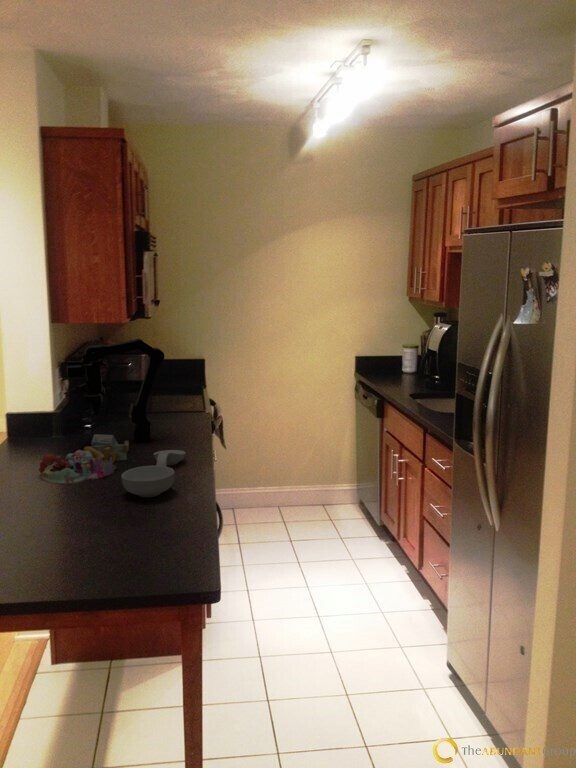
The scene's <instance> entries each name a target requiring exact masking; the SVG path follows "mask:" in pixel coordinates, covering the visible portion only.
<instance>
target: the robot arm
mask: <svg viewBox="0 0 576 768" xmlns="http://www.w3.org/2000/svg"><path fill="white" fill-rule="evenodd" d="M136 350H139V351H141V352H142V353H144V355H146V356H147V358H146V360H147V361H146V362H147V363H146V371H145V373H144V376H143V379H142V383H141V386H140V390H139V392H138V396H137V398H136V401H135V402H134V403H133V402H131V403H130V407H129V409H128V416H129V418H130V420H131V422H132V423H133V424H135V425H134V428H133V440H134V442H135V443H146V442H147V443H151V442H152V433H151V432H152V431H151V424H152V422H151V421H150V419H149V418H148V417H147V404H148V400H149V397H150V394H151V391H152V387H153V384H154V381H155V378H156V374H157V372H158V370H159V369H160V367H161V366H162V364H163V362H164V360H165V353H164V351H163V350H161V349H160V348H159V347H152V346H151V345H149V343H148V344H147V343H146V342H145V341H144V340H143V339H140V338H135V339H133V340H128V341H127V340H126V341H121V342H118V343H113V344H91V345H88V346H87V347H86V348H85V350H84V355H83V356H82V358H81V359H80V360H79V361H77V360H76V361H71V360H69V361H66V375H67V377H66V378H67V379H83V377H84V376H86V380H85V382H84V383H82V384H77V385H75V386H74V387H73V388H72V391H73V394H74V396H75V397H79V395H83V394H85V393H86V395H85V396H84V401H85V402H84V403H90V404H91V407H92V410H93V412H94V415H95V416H98V415H99V412H100V409H101V406H102V403H103V400H104V397H105V396H104V394H105V393H106V388H105V387H104V386H103V376H102V366H103V367H105V366H106V365H107V364H106V362H104V361H103V359H104V358H106V357H108V356H111V355H117V354H121V353H126V352H131V351H136ZM102 394H103V395H102Z"/></svg>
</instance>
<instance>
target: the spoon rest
mask: <svg viewBox="0 0 576 768" xmlns="http://www.w3.org/2000/svg"><path fill="white" fill-rule="evenodd" d="M186 454H187V453H186V451H184V450H181V449H179V450H178V449H169V450H168V449H167V450H159V451H157V452H156V451H155V452H154V453H153V456H154V458H155V460H156V464H155V466H165V467H168V466H174V465H177V464H178V463H179V462H181V461H183V460H184V458H185V456H186Z"/></svg>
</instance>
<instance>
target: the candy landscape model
mask: <svg viewBox="0 0 576 768" xmlns="http://www.w3.org/2000/svg"><path fill="white" fill-rule="evenodd" d="M90 446H91V445H90ZM90 446H84V448H83V450H81V449H78V450H76V451H74V452H73V453H68V454H67V455H66V457H65V460H64V459H63V458H62V456H61V455H56V456H54V455H53V453H46V454H44V455H43V456H42V461H41V462H39V468H38V472H39V478H40V479H41V480H42V481H45V482H48V483H51V484H57V485H73V484H74V485H75V484H79V483H82V482H84V481H90V480H89V479H92V480H91V481H93V479H94V480H101V479H102V478H104V477H105V478H106V477H109V476H110V475H113V474H114V473H115V470H116V469H117V468H118V467H116V465H114V463H115V462H116V461H115V458H116V453H117V452H113V453H110V450H111V448H110V447H105V448H104V450H103V453H104V455H103V454H102V453H101V452H100V451H97V450H95V449H94V448H92V447H90ZM54 463H56V464H54ZM53 464H54V465H53ZM49 466H52V467H51V468H49V469H47V470H46V468H47V467H49ZM99 478H100V479H99Z"/></svg>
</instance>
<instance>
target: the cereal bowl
mask: <svg viewBox="0 0 576 768" xmlns="http://www.w3.org/2000/svg"><path fill="white" fill-rule="evenodd" d="M175 473H176V472H175V470H174V469H173V468H172V467H170V466H167V467H165V466H156V465H143V466H137V467H133V468H130V469H128V470H127V469H126V470H125V471H124V472H123V473H122V474H121V483H122V486H123V487H124V489H125V490H126V491H127V493H128V492H129V493H131V494H132V495H135V496H136V495H137V496H138V497H140V498H152V497H157V496H159V495H161V494H162V493H164V492H166V491H168V490H169V489H170V488H171V487H172V485H173V484H174V481H175Z"/></svg>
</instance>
